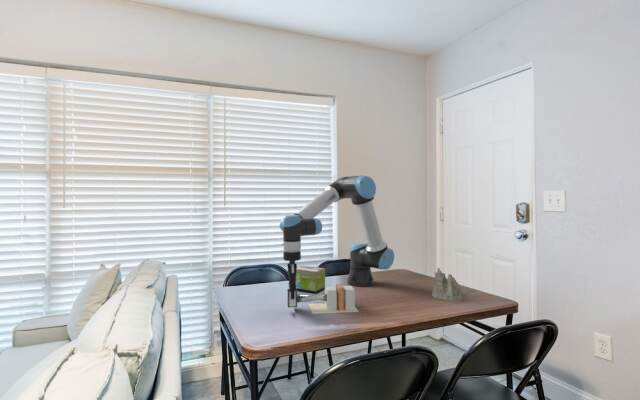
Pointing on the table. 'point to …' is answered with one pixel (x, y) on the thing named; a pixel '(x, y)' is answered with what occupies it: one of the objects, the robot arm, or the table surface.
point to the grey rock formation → (446, 287)
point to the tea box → (310, 280)
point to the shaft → (307, 298)
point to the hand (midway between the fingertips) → (292, 304)
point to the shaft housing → (335, 301)
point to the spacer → (340, 296)
